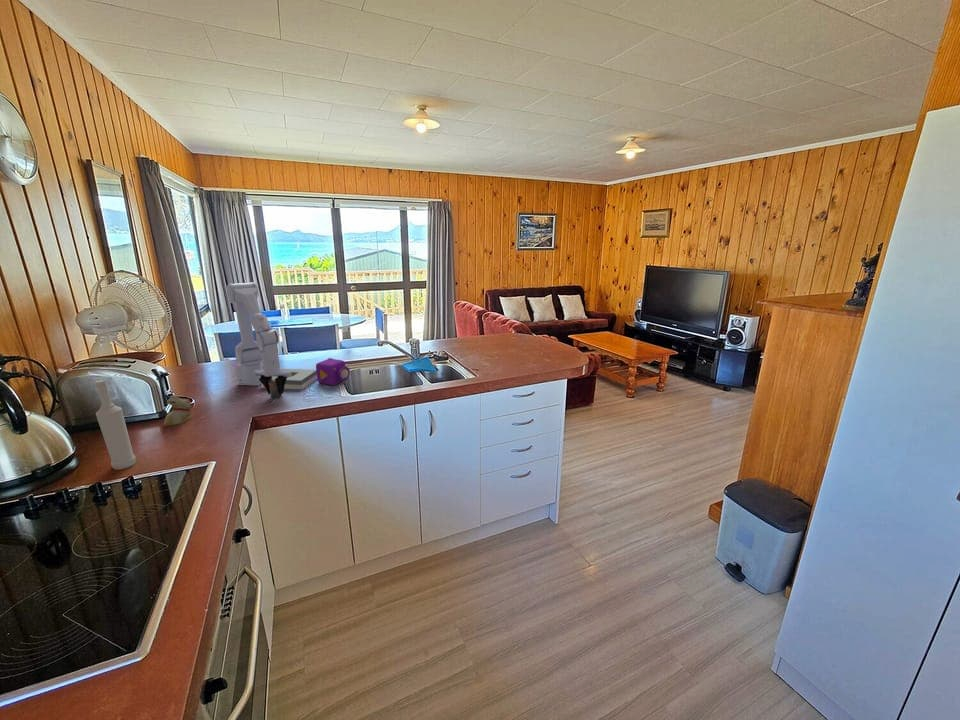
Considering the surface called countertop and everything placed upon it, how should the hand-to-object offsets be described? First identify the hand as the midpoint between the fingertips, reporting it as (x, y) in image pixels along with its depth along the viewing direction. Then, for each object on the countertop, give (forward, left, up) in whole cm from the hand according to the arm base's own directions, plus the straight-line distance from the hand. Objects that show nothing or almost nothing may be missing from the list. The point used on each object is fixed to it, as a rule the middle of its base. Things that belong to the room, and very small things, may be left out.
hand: (275, 393), depth 158 cm
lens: (0, 0, -2) cm, 2 cm away
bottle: (-14, -51, -2) cm, 53 cm away
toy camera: (+16, +19, -2) cm, 25 cm away
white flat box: (-3, +16, -2) cm, 16 cm away
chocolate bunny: (-21, -24, -2) cm, 32 cm away
